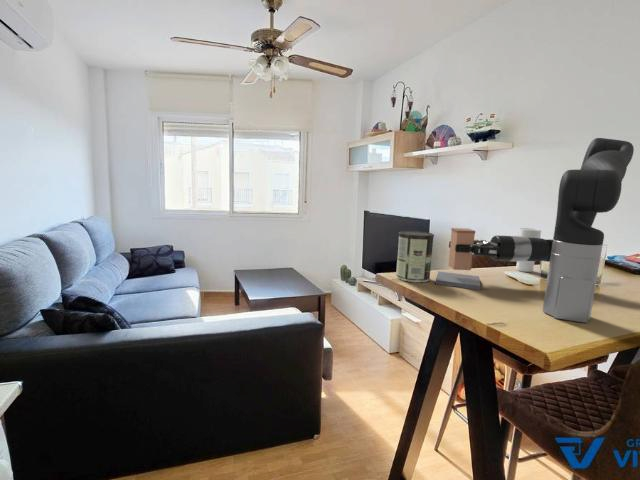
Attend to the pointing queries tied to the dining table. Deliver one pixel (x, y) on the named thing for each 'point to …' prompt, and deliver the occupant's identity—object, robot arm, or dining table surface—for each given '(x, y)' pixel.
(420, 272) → the coffee can
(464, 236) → the tea tin
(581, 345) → the dining table surface
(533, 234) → the drinking glass
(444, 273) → the slate coaster
